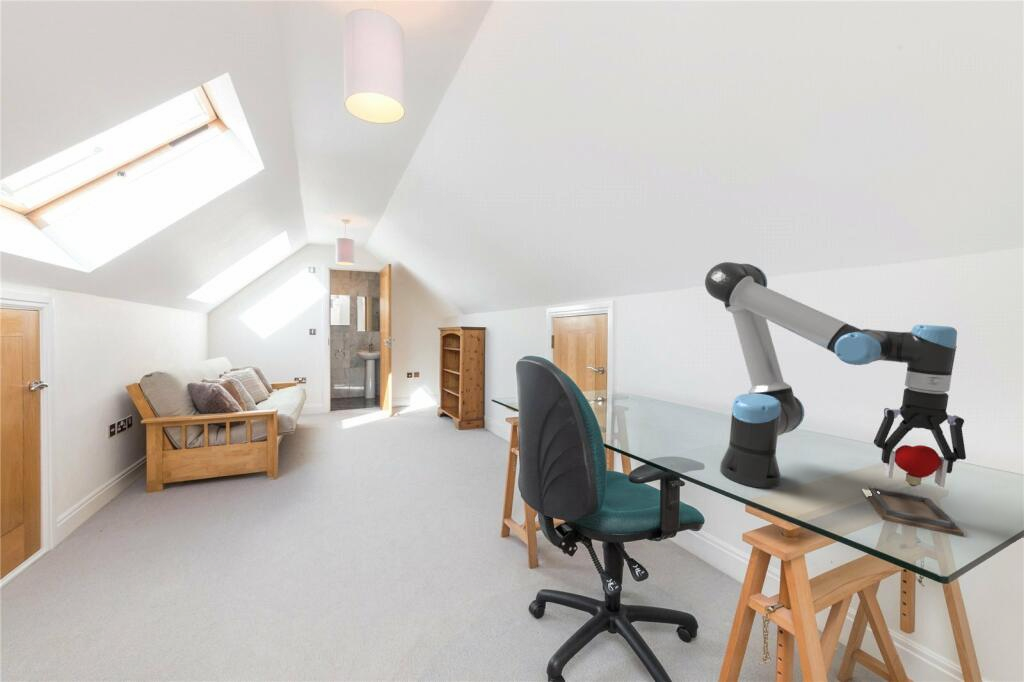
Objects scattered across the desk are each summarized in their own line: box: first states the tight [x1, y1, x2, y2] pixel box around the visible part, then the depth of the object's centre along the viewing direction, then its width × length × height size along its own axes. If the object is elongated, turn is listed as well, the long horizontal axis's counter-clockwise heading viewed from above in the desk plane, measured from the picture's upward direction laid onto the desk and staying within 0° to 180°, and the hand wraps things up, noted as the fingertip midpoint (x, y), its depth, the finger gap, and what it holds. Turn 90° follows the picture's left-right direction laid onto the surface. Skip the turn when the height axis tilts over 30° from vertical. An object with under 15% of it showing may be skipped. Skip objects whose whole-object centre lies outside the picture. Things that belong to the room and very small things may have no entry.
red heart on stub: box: [894, 444, 941, 487], centre depth 100 cm, size 9×7×10 cm
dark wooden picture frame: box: [866, 486, 965, 537], centre depth 101 cm, size 14×16×2 cm
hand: (913, 480), depth 100 cm, fingers closed on red heart on stub, 9 cm apart
